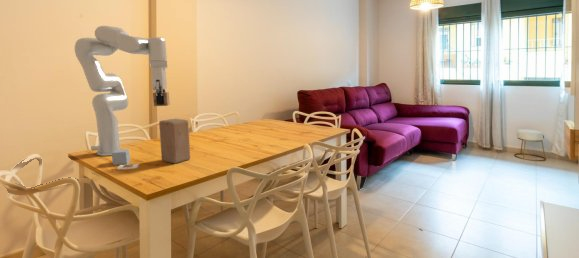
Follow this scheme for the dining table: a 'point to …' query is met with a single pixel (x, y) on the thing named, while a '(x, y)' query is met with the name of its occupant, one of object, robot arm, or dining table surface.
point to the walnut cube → (166, 99)
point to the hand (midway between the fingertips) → (161, 103)
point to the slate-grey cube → (121, 157)
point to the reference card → (128, 166)
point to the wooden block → (174, 140)
